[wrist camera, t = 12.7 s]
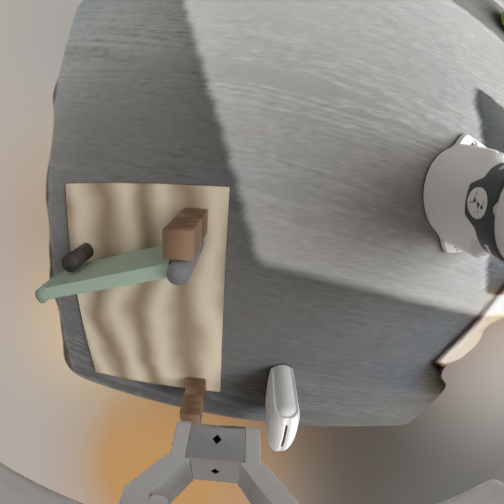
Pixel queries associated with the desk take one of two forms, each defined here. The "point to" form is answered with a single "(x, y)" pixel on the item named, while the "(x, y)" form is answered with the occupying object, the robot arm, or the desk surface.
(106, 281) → the gate
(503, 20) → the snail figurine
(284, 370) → the photo printer
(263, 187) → the desk surface
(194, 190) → the gate frame
